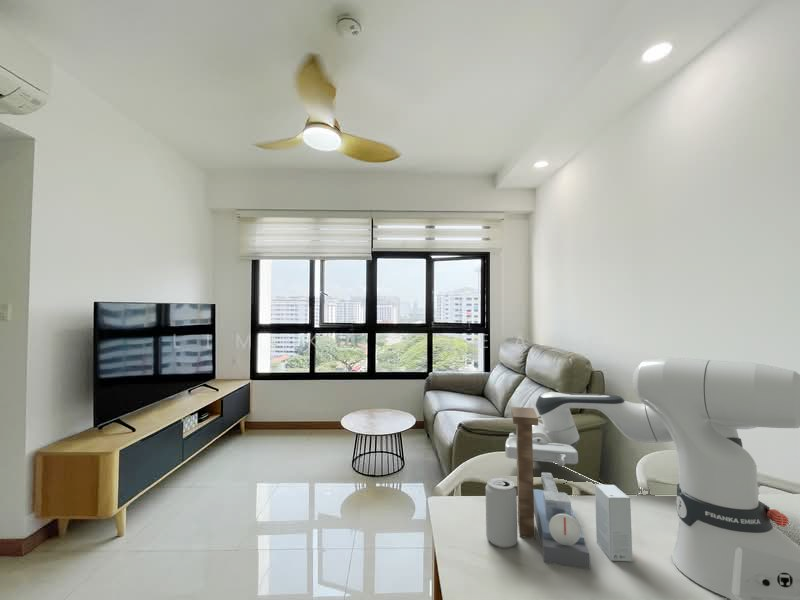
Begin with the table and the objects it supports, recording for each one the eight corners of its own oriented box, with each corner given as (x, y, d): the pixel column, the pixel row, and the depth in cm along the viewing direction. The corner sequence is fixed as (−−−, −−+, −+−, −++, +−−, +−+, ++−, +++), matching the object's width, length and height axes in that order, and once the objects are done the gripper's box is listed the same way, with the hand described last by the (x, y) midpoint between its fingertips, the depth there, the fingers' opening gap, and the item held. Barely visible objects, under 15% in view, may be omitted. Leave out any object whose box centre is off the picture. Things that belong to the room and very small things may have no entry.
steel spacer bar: (556, 483, 93) (556, 467, 93) (571, 522, 75) (570, 502, 76) (536, 481, 94) (536, 465, 95) (546, 518, 77) (545, 499, 77)
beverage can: (519, 552, 72) (518, 490, 72) (486, 548, 73) (486, 487, 74) (515, 533, 78) (514, 477, 79) (485, 530, 79) (484, 474, 80)
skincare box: (633, 562, 69) (631, 498, 69) (610, 561, 69) (608, 497, 70) (616, 542, 75) (614, 484, 75) (595, 542, 75) (593, 483, 76)
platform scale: (566, 509, 88) (566, 472, 88) (589, 569, 67) (588, 521, 67) (532, 505, 90) (531, 469, 90) (544, 562, 69) (543, 515, 69)
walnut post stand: (536, 522, 82) (533, 408, 84) (540, 546, 74) (538, 418, 75) (513, 519, 84) (511, 406, 85) (515, 542, 75) (513, 416, 76)
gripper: (573, 458, 111) (584, 477, 97) (504, 452, 116) (506, 469, 102) (573, 437, 111) (583, 453, 98) (504, 432, 116) (505, 447, 103)
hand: (543, 461), depth 100 cm, fingers open, 8 cm apart
